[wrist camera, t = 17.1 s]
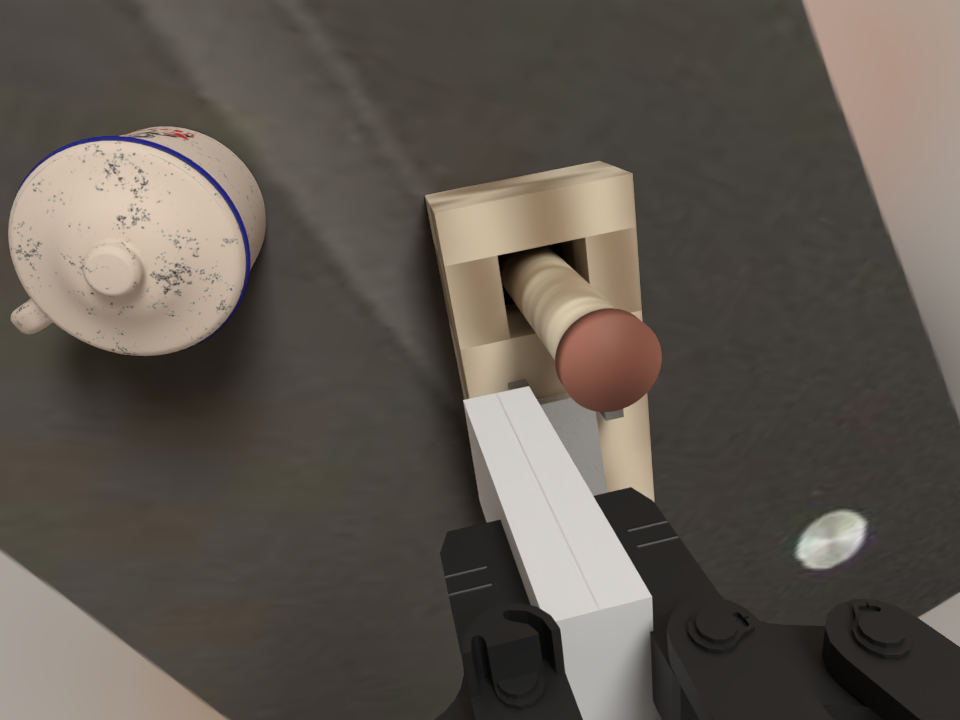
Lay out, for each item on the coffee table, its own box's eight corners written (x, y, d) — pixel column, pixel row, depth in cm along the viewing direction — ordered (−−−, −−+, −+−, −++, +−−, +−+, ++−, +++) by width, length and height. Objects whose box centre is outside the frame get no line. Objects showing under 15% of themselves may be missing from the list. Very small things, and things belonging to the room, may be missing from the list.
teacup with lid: (193, 83, 33) (120, 91, 23) (306, 238, 37) (288, 305, 27) (-3, 216, 34) (-162, 282, 24) (127, 354, 38) (41, 464, 27)
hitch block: (486, 517, 46) (508, 591, 40) (424, 195, 37) (439, 222, 31) (627, 483, 47) (670, 549, 41) (599, 160, 38) (650, 180, 32)
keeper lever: (565, 579, 41) (570, 588, 40) (534, 399, 37) (539, 405, 36) (613, 567, 41) (619, 576, 40) (587, 387, 38) (593, 392, 37)
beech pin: (495, 303, 41) (567, 422, 27) (485, 237, 39) (556, 329, 25) (560, 289, 41) (664, 399, 27) (552, 223, 39) (659, 306, 26)
